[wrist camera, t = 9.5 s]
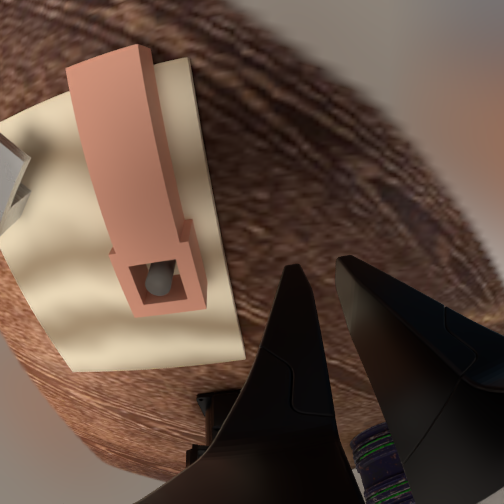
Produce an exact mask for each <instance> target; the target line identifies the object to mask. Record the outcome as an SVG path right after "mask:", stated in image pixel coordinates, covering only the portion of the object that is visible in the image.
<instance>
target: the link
mask: <svg viewBox="0 0 504 504" xmlns="http://www.w3.org/2000/svg"><path fill="white" fill-rule="evenodd" d="M66 73H67V79H68V85H69V90H70V95H71V100H72V105H73V110H74V114H75V119H76V123H77V128H78V132H79V136H80V140H81V144H82V148H83V152H84V156H85V160H86V163H87V167H88V170H89V174H90V178H91V181H92V184H93V188H94V191H95V194H96V198H97V201H98V204H99V207H100V210H101V213H102V216H103V219H104V222H105V225H106V228H107V231H108V234H109V237H110V240H111V242H112V245H113V247H112V249H111V251H110V253H109V258H110V261H111V263H112V266H113V268H114V271H115V273H116V276H117V278H118V281H119V283H120V285H121V288H122V290H123V292H124V295H125V297H126V299H127V302H128V304H129V306H130V308H131V311H132V313H133V315H134V317H135V318H138V317H147V316H156V315H164V314H172V313H180V312H188V311H196V310H203V309H207V284H208V281H207V277H206V273H205V269H204V265H203V261H202V257H201V253H200V249H199V245H198V240H197V236H196V232H195V228H194V223H193V219H188V220H185V218H184V214H183V210H182V206H181V201H180V197H179V193H178V188H177V184H176V179H175V175H174V170H173V166H172V161H171V156H170V151H169V147H168V142H167V137H166V132H165V127H164V122H163V116H162V111H161V106H160V100H159V95H158V89H157V84H156V78H155V72H154V66H153V60H152V54H151V49H150V48H147V47H145V46H142V45H139V44H135V45H132V46H128V47H125V48H122V49H118V50H115V51H112V52H109V53H106V54H103V55H100V56H97V57H94V58H91V59H89V60H86V61H83V62H81V63H78V64H75V65H73V66H70V67H68V68H66ZM173 259H176V262H177V266H178V269H179V273H180V274H176V275H173V279H172V284H171V289H170V291H169V292H168V293H167V294H166V295H163V296H156V295H153V294H151V293H150V292H149V291H148V290H147V289H146V287H145V281H146V278H147V275H148V272H149V271H148V268H147V266H146V264H148V263H154V262H161V261H167V260H173Z"/></svg>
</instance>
